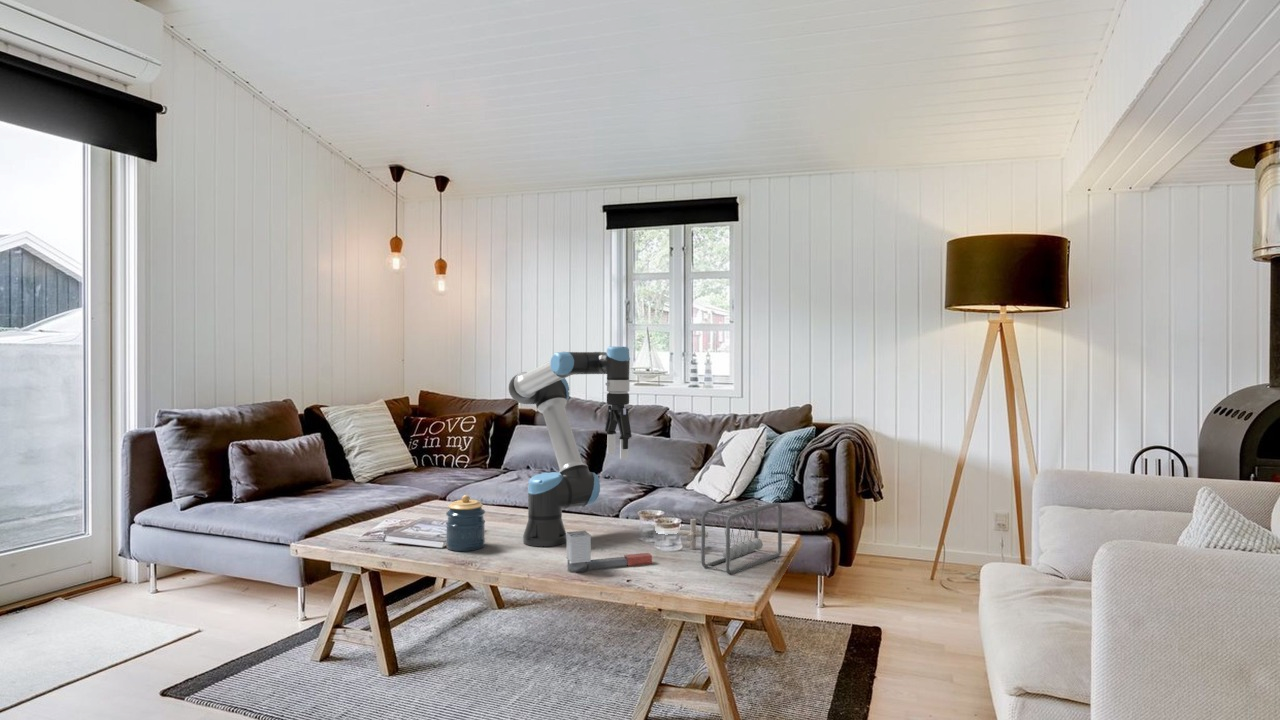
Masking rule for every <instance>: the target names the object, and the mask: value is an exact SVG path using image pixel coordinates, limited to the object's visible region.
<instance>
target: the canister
mask: <svg viewBox="0 0 1280 720" xmlns="http://www.w3.org/2000/svg"><path fill="white" fill-rule="evenodd" d="M483 506H484V504H483V503H481V502H480V501H479V500H478V499H477V500H476V499H470V496H469V495H468V494H464V495H462V497H461V499H458V500H454V501H453V502H452V503H450V504H448V508H449V509H448V511H446V512H445V515H446V516H447V521H446V522H445V525H446V540H445V545H446V549H447V550H450V551H453V552H469V551H470V550H472V551H477V550H480V549H482V548H483V547H485V543H486V537H485V536H486V535H485V533H486V532H485V531H486V530H485V529H486V528H485V527H486V525H485V523H486V520H485V517H484V516H485V514H486V510H485V509H483ZM470 552H471V551H470Z"/></svg>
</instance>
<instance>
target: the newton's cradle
mask: <svg viewBox="0 0 1280 720" xmlns="http://www.w3.org/2000/svg"><path fill="white" fill-rule="evenodd" d="M759 503H764V505H762V504H761V505H760V504H759ZM752 504H753V505H754V506H753V507H752V506H751V505H752ZM742 506H743V507H742ZM745 506H748V507H750V508H748V509H746V508H745ZM741 507H742V510H740V511H739V510H738V509H740V508H741ZM776 507H777V511H778V514H777V515H778V518H777V520H778V522H777V523H778V525H777V532H778V533H777V552H775V553H771V552H767V551H762V550H761V549H762V548H763V546H764V543H763V541H762V539H761V538H759V536H760V531H759V530H761V529H760V527H761V525H758V524H762V523H761V522H762V519H760V520H759V521H758V519H759V516H758V515H759V512H761V514H760V517H762V516H763V515H762V514H763V511H764V510H769V509H773V508H776ZM735 508H736V512H731V510H733V511H734V509H735ZM728 510H729V514H724V512H725V513H727V511H728ZM720 512H721V513H720ZM710 514H711V515H715V516H716V515H717V516H720V517H722V519H723V522H725V518H724V517H727V519H726V523H723V528H724V529H725V530H724V533H725V548H723V550H722V558H720V559H717V560H714V561H711V562H708V563H706V538H705V532H706V516H707V515H710ZM750 514H751V517H752V520H753V521H752V523H753V524H752V526H753V527H752V529H751V532H753V531H754V534H752V533H751V534H750V539H749V537H747V539H748V540H746V541H745V539H746V536H743V537H744V538H743V540H742V538H740V540H741V541H740V543H739V544H735V543H738V539H739V538H737V540H736V542H735V540H733V543H734V544H733V545H732V546H731V542H732V539H731V538H732V537H733V539H735V536H734V533H731V532H734V527H731V525H732V526H734V524H735V521H732V520H735V519H736V518H737V520H738V521H737V522H738V523H739V524H738V527H739V528H738V531H739V532H738V534H737V537H739V536H742V532H741V524H742V520H740V521H739V518H740V517H741V518H740V519H742V517H744V521H746V523H745V529H748V527H747V526H748V521H749V518H747V519H746V516H747V517H749V515H750ZM752 514H754V517H753V515H752ZM782 516H783V506H782V504H781V503H780V502H768V501H763V500H758V499H756V498H750V499H746V500H742V501H739V502H738V501H737V502H734V503H730V504H726V505H723V506H719V507H714V508H711V509H706V510H704V511H703V512H702V515H701V518H700V519H701V521H700V523H701V524H700V525H701V527H700V528H701V530H700V532H701V537H700V539H701V540H700V545H701V547H700V549H701V550H700V558H701V559H700V560H701V561H700V562H701V566H702V567H703V568H705V569H706V568H707V569H708V568H711V569H715V570H720V571H723V572H726V573H727V574H729V575H733V574H736V573H739V572H741V571H744V570H746V569H749V568H751V566H752V567H755V566H757V565H760V564H762V562H763V563H765V562H768V561H770V559H771V560H773V559H775V558H778V557H779V556H780V555H781V553H782V545H783V544H782V543H783V542H782V541H783V540H782V539H783V538H782V536H783V534H782V532H783V528H782V527H783V526H782V525H783V522H782V521H783V520H782V519H783V517H782ZM732 522H733V523H732ZM748 533H749V532H748V530H745V532H744V535H746V534H747V535H749V534H748ZM739 534H740V535H739ZM752 535H753V536H754V538H753V539H752ZM742 541H743V542H742ZM753 552H756V553H757V552H758V553H763V554H766V555H767V554H768V555H769V556H764V557H762V558H760V559H757V560H755V561H752V562H749V563H747V564H744V565H740V566H738V567H735V568H733V569H731V567H730V566H731V565H730V564H731V563H730V562H731V561H732V560H733V559H736V558H739V557H742V556H745V555H747V553H748V554H752V553H753ZM741 555H742V556H741ZM732 558H733V559H732ZM724 561H725V562H724ZM721 562H722V563H725V569H723V568H719V567H716V565H719V564H722V563H721ZM718 563H719V564H718ZM715 564H716V565H715ZM712 565H713V566H712ZM714 566H715V567H714Z"/></svg>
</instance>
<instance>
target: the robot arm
mask: <svg viewBox="0 0 1280 720" xmlns="http://www.w3.org/2000/svg"><path fill="white" fill-rule="evenodd" d="M630 360H631V358H630V349H629V347H628V346H607V348H606V351H605V352H602V351H592V352H591V351H580V352H579V351H561V352H555V353H553V354H552V356H551V358H550V360H549V361H548V362H545V363H544V364H542V365H540V366H539V365H538V366H537V367H535V368H533V369H532V370H529V371H528V372H527V371H522V372H519V373H517V374H515V375H514V376H513V377H512V378H511V379H510V381H509V384H508V392H509V395H510V397H511V398H512V399H513V400H514V401H515V402H517V403H519V404H522V405H535V406H536V409H537V412H538V413H540V414H542V415H543V418H544V421H545V426H546V428H547V432H548V435H549V439H550V442H551V445H552V446H551V447H552V449H553V452H554V455H555V459H556V462H557V465H558V469H559V471H558V472H555V471H552V472H543V473H538V474H536V475H533V476H532V477H531V478H530V479H529V481H528V488H527V493H528V494H527V497H528V501H527V503H528V505H527V506H528V509H527V511H528V518H527V519H528V520H527V523H526V525H525V529H524V532H523V536H522V541H523V544H524V545H527V546H532V547H543V546H544V547H555V546H560V545H563V544H565V543H567V531H566V528H565V526H564V523H563V519H562V514H563V513H562V512H563V510H565V509H566V510H567V509H571V508H573V509H574V508H579V507H583V508H584V507H586V506H590V505H593V504H595V503H596V502H597V500H598V498H599V496H600V491H601V483H600V482H601V481H600V478H599V476H598V474H596V473H595V472H594V471H593V472H592V471H590V470H589V466H588V465H587V464H586V463H584V462H583V461H582V458H581V454H580V451H579V448H578V445H577V442H576V440H575V436H574V432H573V430H572V427H571V422H570V420H569V417H568V414H567V410H566V405H567V403H568V399H569V398H570V392H569V391H570V386H569V383H568V381H567V379H566V378H568V377H570V376H572V375H606V382H605V386H606V391H607V392H608V393H607V394H606V404H607V405H608V406H607V416H606V423H605V427H604V432H606V434H607V438H606V439H607V440H606V442H607V443H606V445H607V447H606V452H607V454H608V455H609V454H611V455H612V454H616V442H617V441H616V434H617V431H616V430H617V429H616V428H617V427H618V430H619V434H620V436H619V437H618V438H619V440H620V441H619V459H620V460H629V459H630V458H629V457H630V456H629V455H630V452H629V451H630V447H629V445H630V438H632V430H631V424H630V423H631V422H630V417H629V408H625V406H626V405H629V404H630V394H629V392H630V364H631V363H630Z"/></svg>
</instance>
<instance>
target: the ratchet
mask: <svg viewBox="0 0 1280 720" xmlns="http://www.w3.org/2000/svg"><path fill="white" fill-rule="evenodd" d="M623 555H624V554H623ZM643 564H645V565H652V564H653V556H652V554H651V553H649V552H641V553H633V554H632V553H630V554H625V555H624V556H618V557H617V556H616V557H606V558H597V559H596V558H595V559H591V562H581V563H571V562H570V561H569V560H568V559H567V571H568V572H569V571H570V573H573V572H576V573H577V574H581V572H582V573H586V572H588V571H592V570H591V569H593V570H600V569H599V568H603V569H609V568H608V567H613V568H618V567H617V566H623V567H633V566H632V565H635V566H642V565H643ZM627 565H628V566H627ZM585 571H586V572H585Z"/></svg>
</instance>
